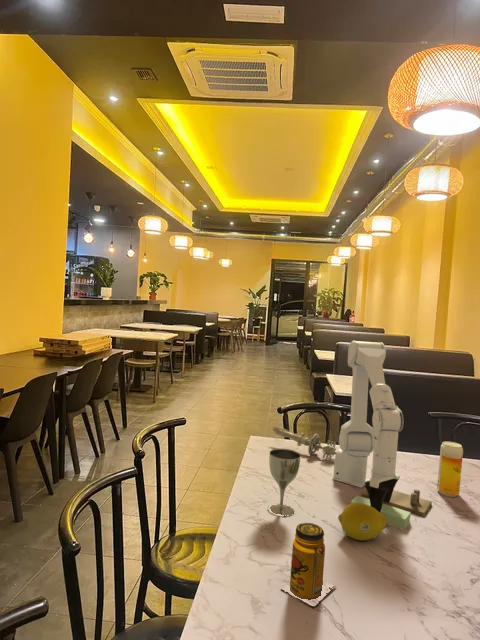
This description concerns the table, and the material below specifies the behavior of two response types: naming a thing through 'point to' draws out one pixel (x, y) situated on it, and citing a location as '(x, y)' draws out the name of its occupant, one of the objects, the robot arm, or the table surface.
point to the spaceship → (309, 442)
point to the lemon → (361, 521)
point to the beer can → (450, 468)
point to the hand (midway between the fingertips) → (380, 506)
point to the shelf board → (389, 513)
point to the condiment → (308, 561)
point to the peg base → (407, 502)
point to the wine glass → (283, 474)
